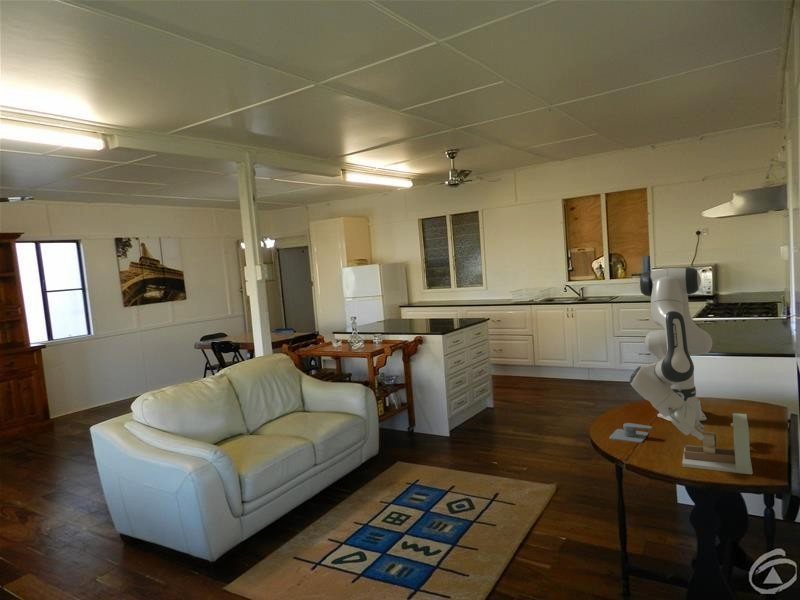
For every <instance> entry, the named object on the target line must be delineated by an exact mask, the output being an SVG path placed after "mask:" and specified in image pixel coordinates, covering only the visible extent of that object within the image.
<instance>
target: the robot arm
mask: <svg viewBox="0 0 800 600" xmlns="http://www.w3.org/2000/svg"><path fill="white" fill-rule="evenodd" d="M698 271H699V270H697V269H696V268H693V267H685V268H684V267H668V268H663V269H656V270H648V271H644V272H642V273H641V274H640V276H639V279H638V288H639V291H640V293H641V294H642V295H643V296H645V297H650V314H651V315H650V316H651V319H652V321H653V323H654V324H656V325H657V326H659V327H661V328H663V329H657V330H651V331H648V333H647V334H646V336H645V338H644V345H645V348H646V350H647V351H648V352H649V353H651V355H653V356H654V357H655V358H657V359H658V361H656V362H654V363H650V364H647V365H640V366H638V367H637V368H636V369H635V370H634V371H633V372H632V374H631V375H630V378H629V384H630V385H631V387H632V388H633V389H634V390H635V391H636V392H637V393H638V395H639V396H641V397H642V398H643V399H644V400H646V401H648V402H650V404H651V406H652V408H654V409H655V410H656V411H658V412H659V413H657V417H658V418H661V419H664V420H666V421H669V422H671V423H672V424H673V426H674V427H676V428H677V429H678V430H679V431H680V432H681V433H682V434H684V436H688V435H692V436H694V437H695V438H697V439H698V440H699V441H703V439H704V435H703V432H704V431H705V426H704V425H703V424H702V423H701V422H702V421H707V419H708V418H707V417H706V415H705V413H704V412H703V411H702V407H701V400H700V399H699V398H697V396H696V395H697V389H696V386H695V374H694V371H695V366H694V362H693V360H692V358H691V356H701V355H707V354H708V353H710V352H711V350H712V347H713V339H712V336H711V335H710V334H709V333H708V332H707V331H705V330H704V329H702V328H700V327H699V326H698V325H697V324H696V323H695V321H694V320H693V319H692V315H691V311H690V305H689V295H691V294H692V295H693V294H695V293H697V292H698V291H699V289H700V287H701V283H702V278H701V275H700V274H699V272H698ZM697 429H698V430H697ZM699 431H700V432H699Z"/></svg>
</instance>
